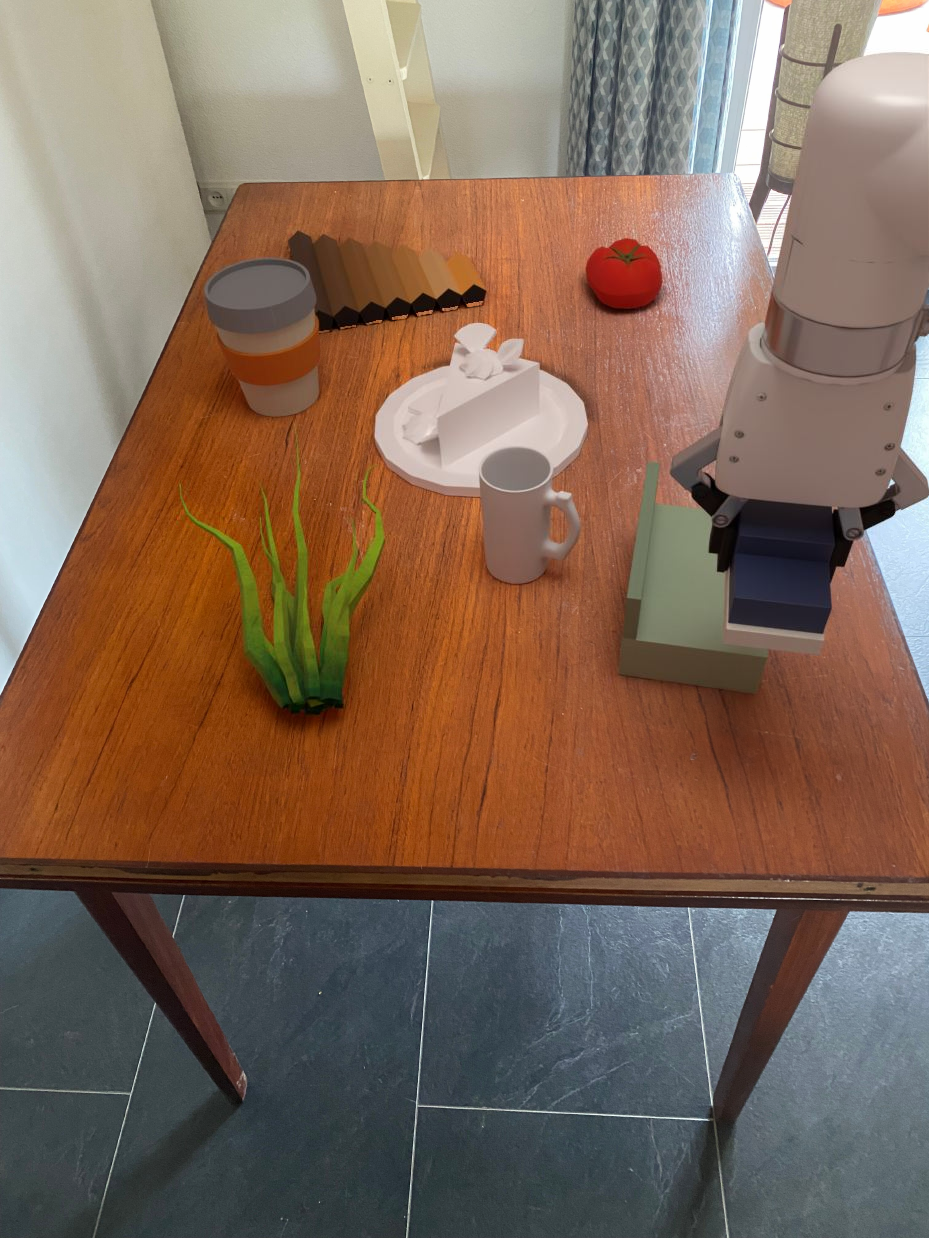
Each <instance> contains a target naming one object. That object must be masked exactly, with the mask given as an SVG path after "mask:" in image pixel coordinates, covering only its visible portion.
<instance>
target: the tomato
mask: <svg viewBox="0 0 929 1238" xmlns="http://www.w3.org/2000/svg"><path fill="white" fill-rule="evenodd" d="M584 269H585V270H584V271H585V276H586V281H587V284H588V285H589V288H590V289H592V290H593V291H594V294H595V295H596V298H597V299H598V300H599V301H600V302H601V303H602V304H604V305H606V306H607V307H611V308H613V309H624V310H625V309H626V310H632V309H631V308H635V309H638V308H637V307H639V308H641V306H642V307H644V306H646V305H649V304H650V303H651V302H652V301H654V300H655V299H656V297H657V296H658V295H659V292H661V289H662V285H663V273H662V266H661V263H660V260H659V258H658V256H657V254H656V253H655V251H654V250H653V249H652V248H651V247H650V246H649V245H642V243H639V241H638V240H637V239H634V238H629V237H625V238H620V239H618V240H615V241H614V242H612V244H610V245H609V246H608V247H606V246H600V247H598V248H595V249H594V251H593V252H592V253H591V254H590V256H589V258H588V259H587V261H586V265H585V268H584Z"/></svg>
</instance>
